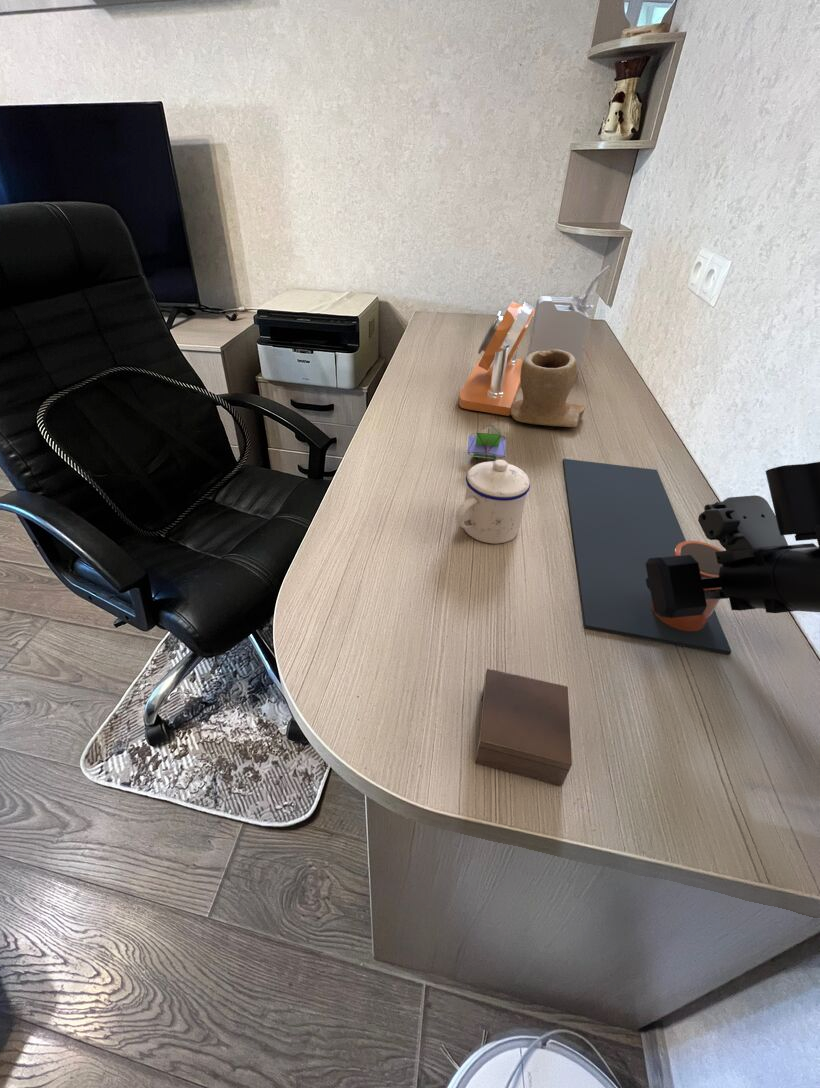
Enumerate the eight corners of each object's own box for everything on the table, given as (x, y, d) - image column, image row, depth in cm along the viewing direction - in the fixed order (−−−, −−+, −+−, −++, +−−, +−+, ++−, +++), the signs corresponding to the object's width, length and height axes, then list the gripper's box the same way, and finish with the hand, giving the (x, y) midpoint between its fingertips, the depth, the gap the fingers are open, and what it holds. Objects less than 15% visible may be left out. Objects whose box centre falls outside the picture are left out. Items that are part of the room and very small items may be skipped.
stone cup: (506, 429, 103) (518, 359, 95) (511, 405, 112) (522, 339, 104) (584, 440, 99) (604, 368, 91) (582, 415, 109) (600, 347, 100)
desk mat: (729, 655, 58) (732, 651, 58) (584, 628, 61) (585, 625, 61) (655, 472, 90) (656, 469, 89) (562, 461, 93) (563, 458, 93)
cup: (716, 631, 60) (749, 577, 55) (665, 631, 60) (692, 577, 55) (689, 593, 65) (717, 540, 60) (641, 593, 65) (665, 540, 60)
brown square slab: (562, 786, 46) (572, 764, 44) (474, 763, 48) (480, 741, 46) (559, 708, 52) (567, 686, 50) (482, 690, 54) (487, 667, 52)
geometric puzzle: (505, 467, 87) (511, 422, 87) (465, 463, 88) (471, 418, 88) (501, 471, 94) (506, 429, 94) (464, 467, 95) (469, 425, 95)
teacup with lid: (488, 502, 82) (498, 440, 76) (532, 530, 76) (547, 466, 70) (433, 529, 77) (439, 464, 70) (476, 562, 71) (487, 495, 64)
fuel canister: (584, 366, 132) (610, 264, 118) (588, 373, 128) (615, 268, 114) (525, 362, 134) (543, 262, 120) (526, 369, 130) (546, 266, 116)
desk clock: (528, 369, 130) (543, 288, 119) (511, 418, 107) (528, 323, 96) (481, 363, 134) (491, 283, 122) (454, 409, 111) (464, 317, 99)
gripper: (869, 486, 48) (738, 508, 64) (690, 500, 46) (599, 520, 62) (900, 604, 46) (757, 598, 62) (715, 624, 44) (615, 612, 60)
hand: (682, 579), depth 61 cm, fingers open, 9 cm apart
